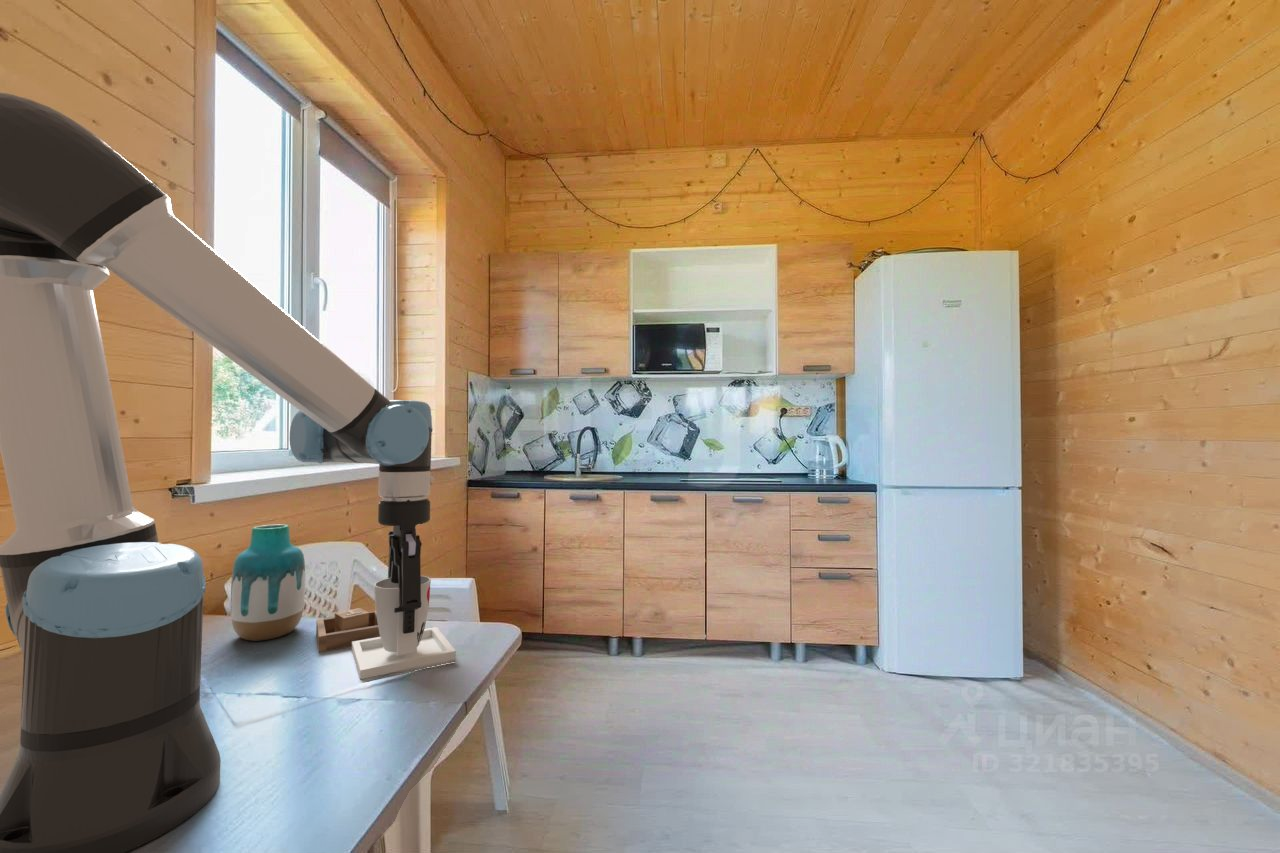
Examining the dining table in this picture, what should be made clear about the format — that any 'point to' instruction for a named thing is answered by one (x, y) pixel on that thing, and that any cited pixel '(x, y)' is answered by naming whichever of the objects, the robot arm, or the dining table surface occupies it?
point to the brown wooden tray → (343, 633)
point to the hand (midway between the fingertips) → (402, 644)
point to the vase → (268, 585)
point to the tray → (401, 656)
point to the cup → (388, 618)
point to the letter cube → (351, 619)
